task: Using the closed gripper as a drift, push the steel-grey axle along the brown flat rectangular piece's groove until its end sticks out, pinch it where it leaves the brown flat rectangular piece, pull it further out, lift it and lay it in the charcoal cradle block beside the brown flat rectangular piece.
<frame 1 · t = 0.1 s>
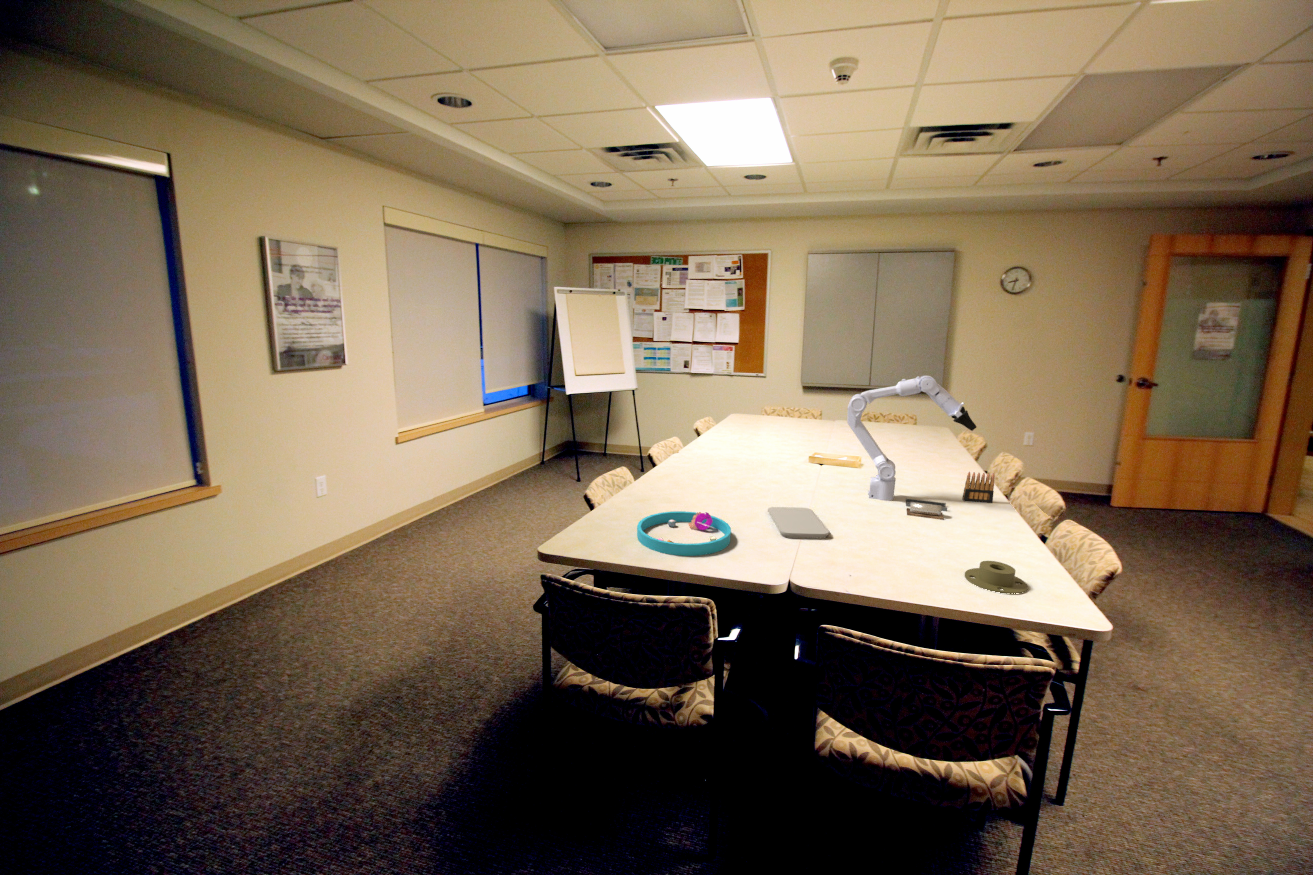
hand: (972, 427, 211), 32 cm above the table, tool tilted 50°, fingers open, 7 cm apart
teal round ring: (683, 538, 185), on the table
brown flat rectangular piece: (924, 517, 209), on the table
cradle: (925, 508, 219), on the table
flange: (994, 583, 158), on the table
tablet: (796, 526, 199), on the table
ammunition clip: (977, 501, 229), on the table
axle: (924, 514, 209), point 1 cm above the table, touching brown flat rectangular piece
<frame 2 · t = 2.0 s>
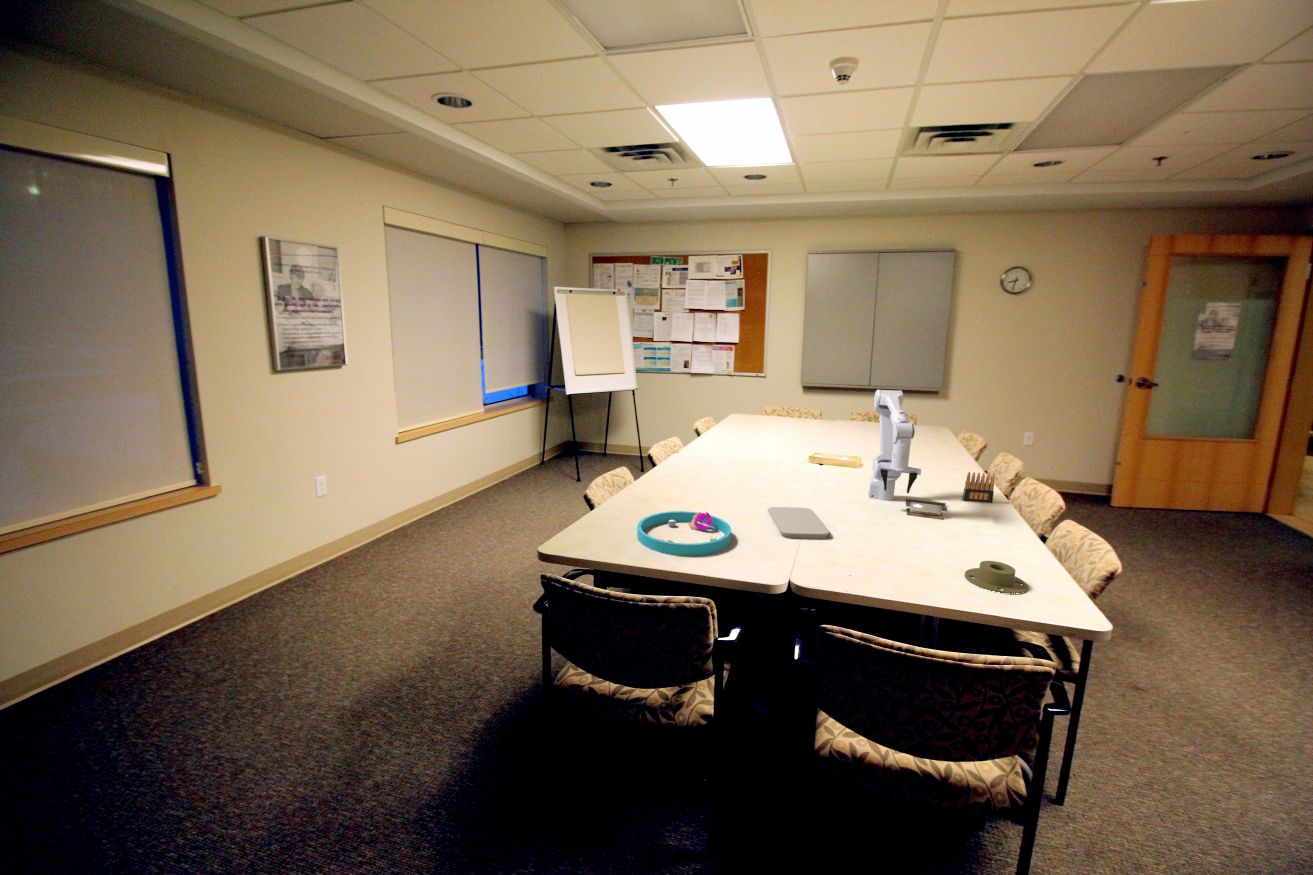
hand: (896, 491, 211), 8 cm above the table, tool pointing down, fingers open, 7 cm apart
nothing on the table moved.
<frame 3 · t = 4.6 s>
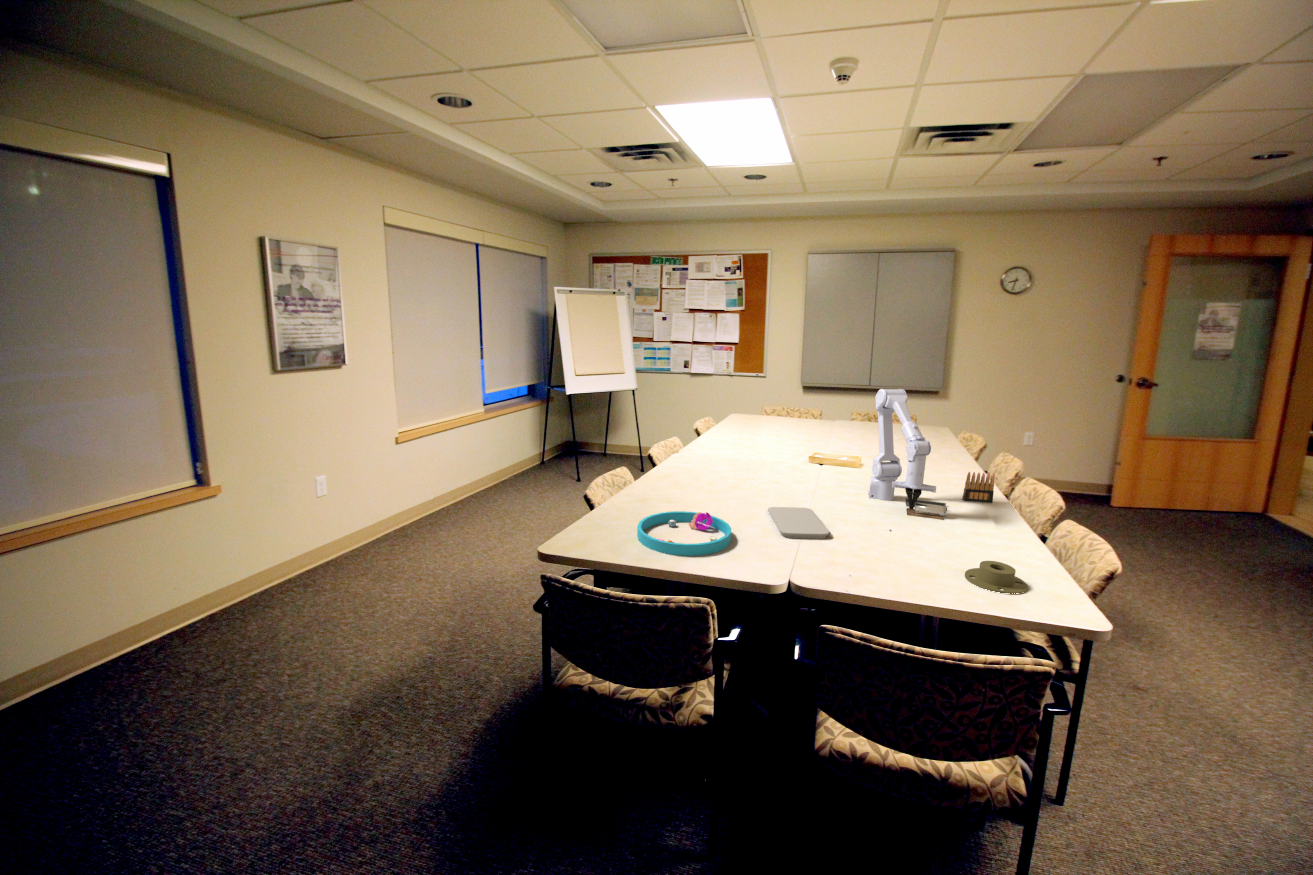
hand: (911, 508, 210), 3 cm above the table, tool pointing down, fingers closed
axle: (929, 515, 209), point 1 cm above the table, touching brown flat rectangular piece, gripper
everything else where it was.
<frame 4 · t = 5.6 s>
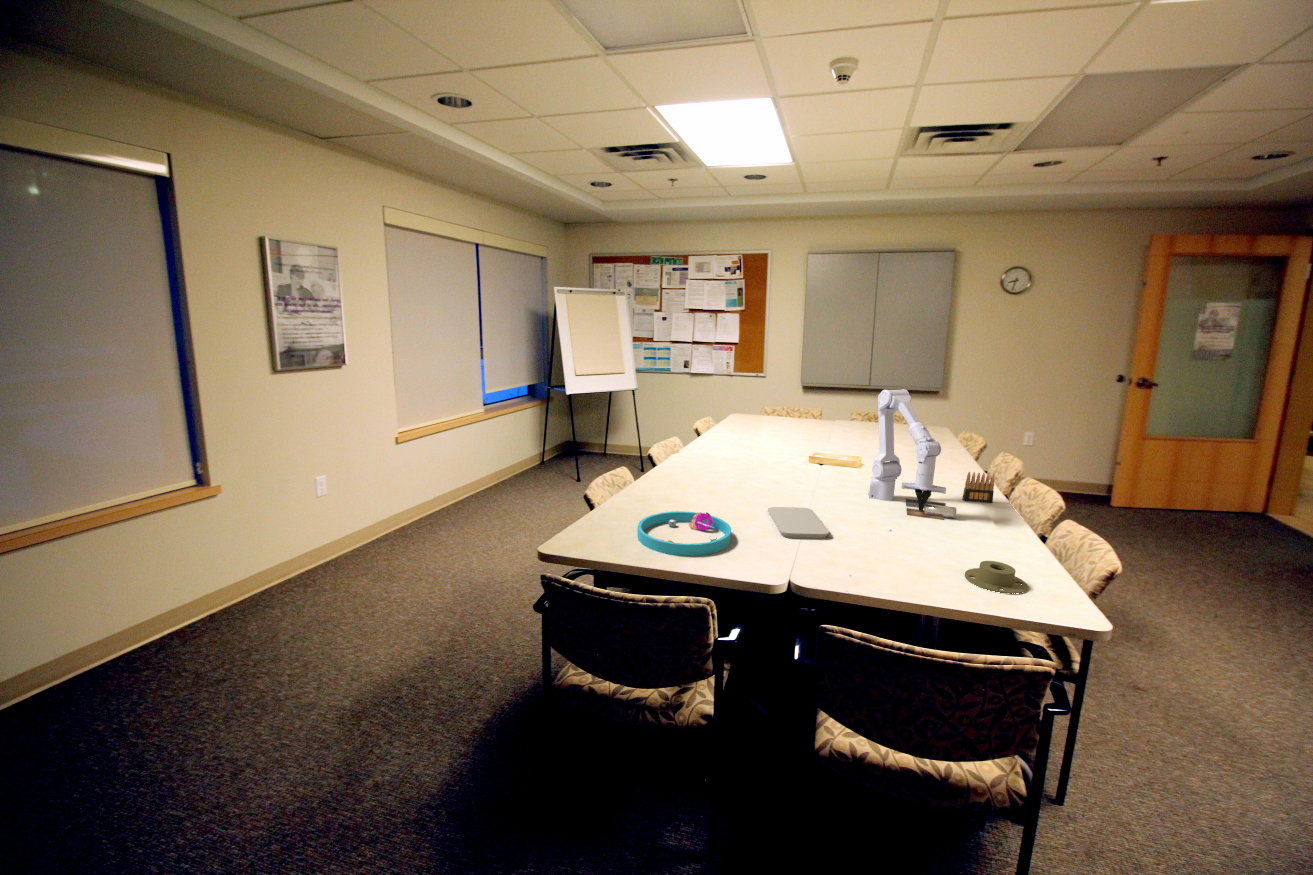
hand: (920, 509, 209), 3 cm above the table, tool pointing down, fingers closed
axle: (939, 516, 207), point 1 cm above the table, touching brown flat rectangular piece, gripper
everything else where it was.
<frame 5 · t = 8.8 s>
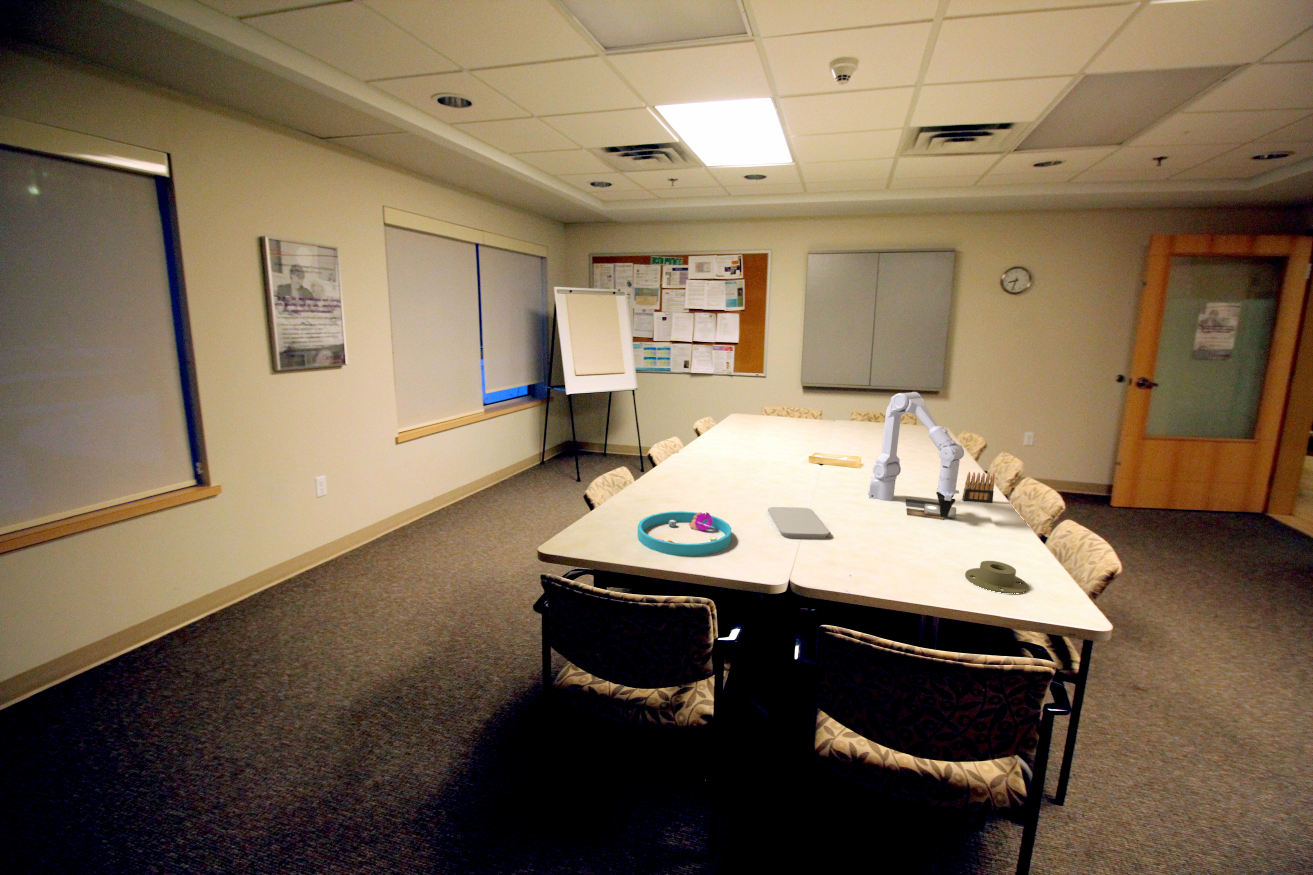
hand: (943, 514, 207), 2 cm above the table, tool pointing down, fingers closed on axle, 4 cm apart
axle: (939, 516, 207), point 1 cm above the table, touching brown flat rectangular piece, gripper
everything else where it was.
when the fingers open (3 cm above the table, at t = 13.5 s): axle drops 1 cm, resting on cradle.
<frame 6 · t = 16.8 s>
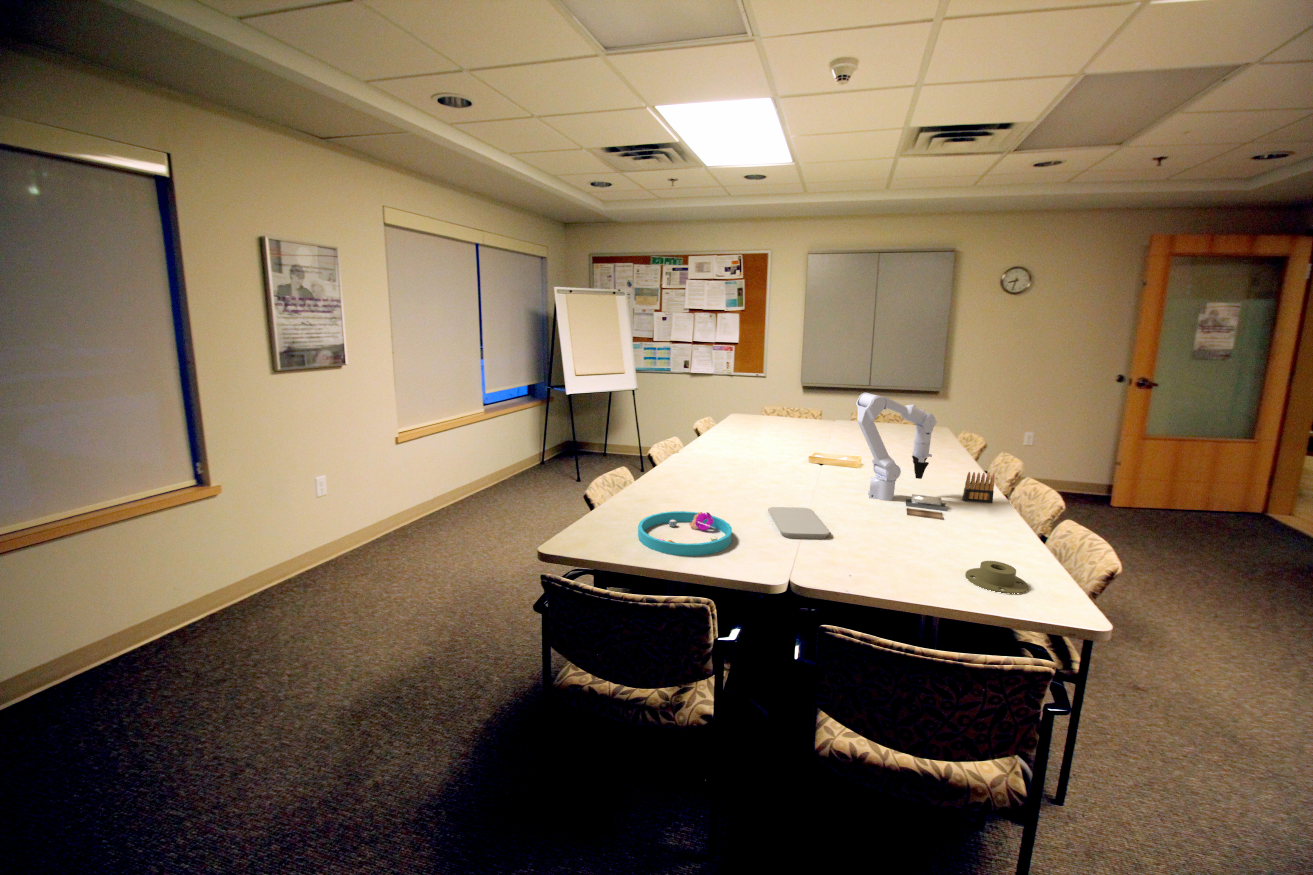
hand: (918, 476, 229), 9 cm above the table, tool pointing down, fingers open, 7 cm apart
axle: (925, 505, 219), point 1 cm above the table, touching cradle
everything else where it was.
at the end: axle 0.1 cm off-centre on the cradle, point 1.0 cm above the cradle's base; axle touching cradle; the gripper is holding nothing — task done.
